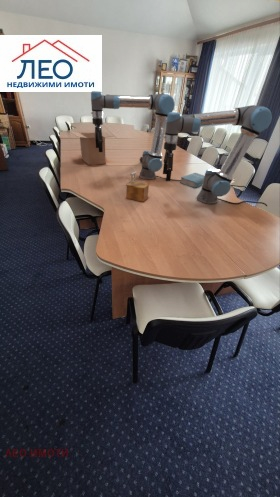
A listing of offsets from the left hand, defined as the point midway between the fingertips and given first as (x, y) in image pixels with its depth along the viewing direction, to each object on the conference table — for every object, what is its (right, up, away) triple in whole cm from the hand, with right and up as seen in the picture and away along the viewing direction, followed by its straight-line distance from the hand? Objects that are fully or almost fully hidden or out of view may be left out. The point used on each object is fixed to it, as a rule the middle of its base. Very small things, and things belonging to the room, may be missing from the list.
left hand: (99, 149), depth 169 cm
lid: (+29, -29, -7) cm, 42 cm away
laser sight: (+42, +17, +73) cm, 86 cm away
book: (+81, -16, +32) cm, 89 cm away
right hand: (+49, -29, -23) cm, 61 cm away
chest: (+29, -37, -2) cm, 47 cm away
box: (-19, +18, +68) cm, 73 cm away
